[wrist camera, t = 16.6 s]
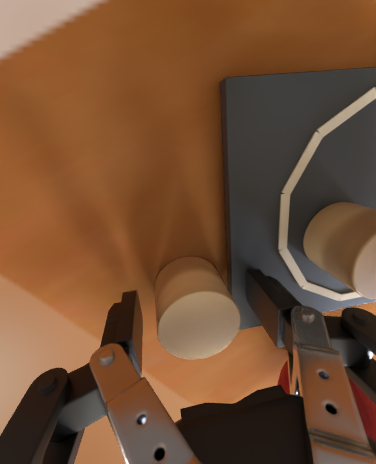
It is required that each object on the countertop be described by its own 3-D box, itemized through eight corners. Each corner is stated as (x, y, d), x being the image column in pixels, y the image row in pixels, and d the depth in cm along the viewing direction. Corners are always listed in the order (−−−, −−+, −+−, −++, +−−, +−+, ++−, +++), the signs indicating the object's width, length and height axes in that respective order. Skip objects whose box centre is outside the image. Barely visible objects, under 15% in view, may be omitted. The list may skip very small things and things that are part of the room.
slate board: (219, 81, 10) (225, 76, 10) (534, 59, 13) (561, 53, 12) (229, 322, 16) (233, 332, 15) (453, 277, 18) (468, 283, 17)
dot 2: (370, 196, 13) (444, 213, 10) (358, 259, 14) (419, 291, 11) (305, 206, 13) (361, 227, 9) (300, 270, 14) (346, 307, 11)
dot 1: (149, 262, 13) (150, 300, 10) (218, 250, 13) (240, 283, 10) (159, 318, 14) (163, 367, 11) (221, 306, 15) (241, 350, 12)
